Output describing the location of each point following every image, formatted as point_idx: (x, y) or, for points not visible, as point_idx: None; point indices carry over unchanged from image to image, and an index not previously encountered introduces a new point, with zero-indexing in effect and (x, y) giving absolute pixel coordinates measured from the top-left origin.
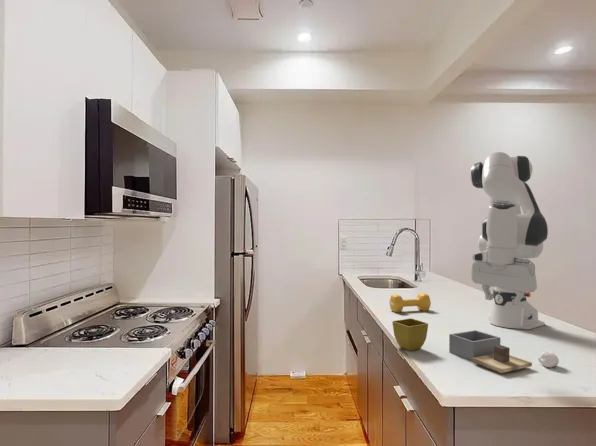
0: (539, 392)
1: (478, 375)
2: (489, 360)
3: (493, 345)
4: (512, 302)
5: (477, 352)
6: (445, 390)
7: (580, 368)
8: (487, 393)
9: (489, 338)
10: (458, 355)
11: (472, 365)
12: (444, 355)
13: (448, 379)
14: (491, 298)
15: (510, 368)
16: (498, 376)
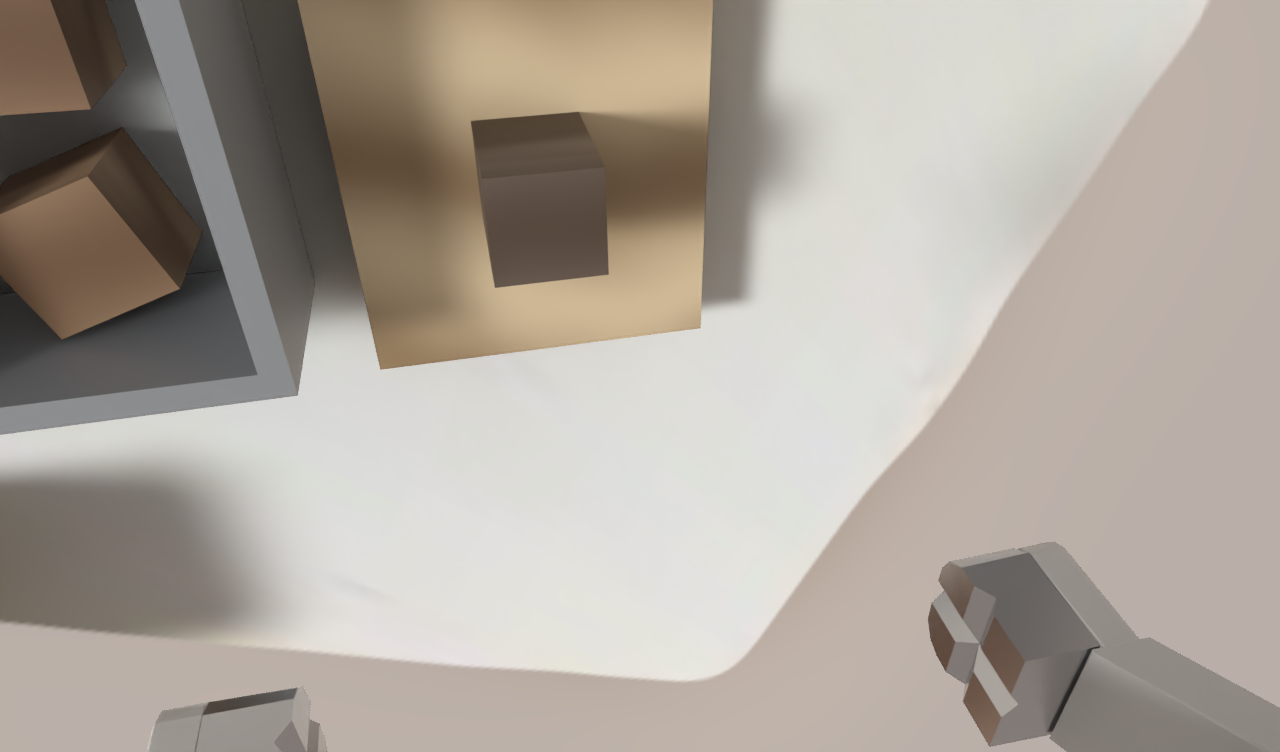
0: (983, 285)
1: (605, 435)
2: (492, 276)
3: (211, 24)
4: (963, 680)
5: (293, 273)
6: (691, 669)
7: None
8: (820, 535)
9: (167, 99)
10: None
11: None
12: None
13: (582, 607)
14: (309, 742)
15: (702, 234)
16: None
